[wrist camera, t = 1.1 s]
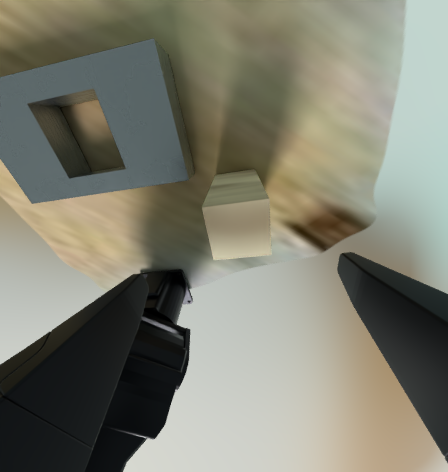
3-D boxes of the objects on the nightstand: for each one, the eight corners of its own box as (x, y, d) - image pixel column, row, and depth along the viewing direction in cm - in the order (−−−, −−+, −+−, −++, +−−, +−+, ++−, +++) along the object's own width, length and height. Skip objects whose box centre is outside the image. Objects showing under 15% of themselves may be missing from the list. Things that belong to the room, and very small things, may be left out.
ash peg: (257, 206, 20) (271, 254, 13) (221, 211, 21) (213, 260, 13) (254, 169, 18) (269, 198, 11) (215, 174, 19) (201, 207, 11)
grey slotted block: (195, 173, 19) (188, 180, 16) (57, 194, 21) (32, 203, 18) (168, 54, 14) (153, 38, 12) (-4, 95, 16) (-49, 89, 14)
